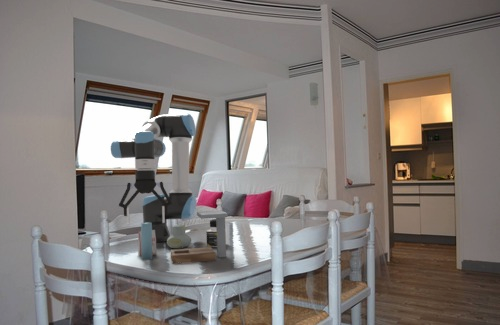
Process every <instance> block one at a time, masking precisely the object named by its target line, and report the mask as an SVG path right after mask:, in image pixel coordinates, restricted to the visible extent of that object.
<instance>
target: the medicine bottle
mask: <svg viewBox="0 0 500 325" xmlns="http://www.w3.org/2000/svg"><path fill="white" fill-rule="evenodd" d="M205 234H206V247H211V248H212V247H214V248H217V228H216V218H211V220H209V229H207V230H206V233H205ZM225 234H226V246H227V245H228V229H227V228H225Z"/></svg>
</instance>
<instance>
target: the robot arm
mask: <svg viewBox="0 0 500 325" xmlns="http://www.w3.org/2000/svg"><path fill="white" fill-rule="evenodd" d="M196 132H197V131H196V123H195V120H194V117H193V116H192V115H191V114H190V113H174V114H173V113H172V114H171V113H170V114H160V115H156V116H154V117H152V118H150V119H148V120H147V121H145V122H144V123H143V124H142V126H141V127H140V128H139V129H137V130H136V131H134V132H133V133H131V134H130V135H129V136H127V137H125V138H124V139H123V140H122V139H121V140H115V141H112V143H111V145H110V153H111V155H112V157H113V158H115V159H131V158H132V159H133V158H134V159H135V160H134V166H135V168H134V169H135V171H134V173H135V179H134V180H135V182H134V183H133V182H132V183H131V182H127V185H126V190H125V192H124V193H123V195H122V197H121V198H120V202H119V204H118V207H121V208H123V216H124V217H126V225H127V226H130V207H128V206H129V205H130V204H131V202H132V201H133V200H134V199H135V198H136V197H137V195H138V194H153V195H148V196H145V197H143V199H142V217H143V218H142V220H143V222H142V223H152V230H155V236H156V243H162V242H163V243H164V242H167V239H168V238H169V237H170V236H171V233H170V232H171V231H170V229H169V228H168V227H169V226H168V224H167V223H168V222H167V221H168V220H190V219H191V218H193V217H194V214H195V212H196V207H197V199H196V198H197V197H196V196H195V195H194V194H193V191H192V190H191V189H190V142H191V141H192V140H193V137H194V136H196ZM158 138H168V140H169V141H170V143H171V147H172V148H171V153H172V155H171V159H172V160H171V190H170V191H169V192H168V193H167V191H166V189H165V188H164V182H163V181H160V182H156V173H155V172H156V171H155V170H154V169H155V165H156V163H155V158H161V157H162V156H163V155H164V154H165V152H166V149H167V148H166V145H165V143H164V142H163V141H162V140H160V139H158ZM133 187H134V188H135V189H136V190H135V192H134V193H133V194H132V195H131V197H130V198H128V200H127V201H126V203H125V200H126V198H127V197H128V195H129V193H130V191H131V189H133ZM156 187H158V188H159V189H160V190H161V192H162V193H161V194H158V191H156V190H155V188H156Z"/></svg>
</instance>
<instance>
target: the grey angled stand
mask: <svg viewBox="0 0 500 325" xmlns="http://www.w3.org/2000/svg"><path fill="white" fill-rule="evenodd" d="M228 215H229V214H228V213H227V212H226V211H223V210H221V209H220V210H206V211H205V210H204V211H202V210H201V211H196V216H197V217H198V218H199V219H201V220H203V219H204V220H205V219H207V220H208V219H216V228H217V247H216V252H217V254H216V255H217V258H226V257H227V245H226V234H225V229H226V218H228Z"/></svg>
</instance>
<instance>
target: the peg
mask: <svg viewBox="0 0 500 325" xmlns="http://www.w3.org/2000/svg"><path fill="white" fill-rule="evenodd" d="M140 226H141V227H140V231H141V234H142V256H141V260H144V261H146V260H147V261H149V260H153V258H154V257H153V255H152V223H143V222H141V223H140Z"/></svg>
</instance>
